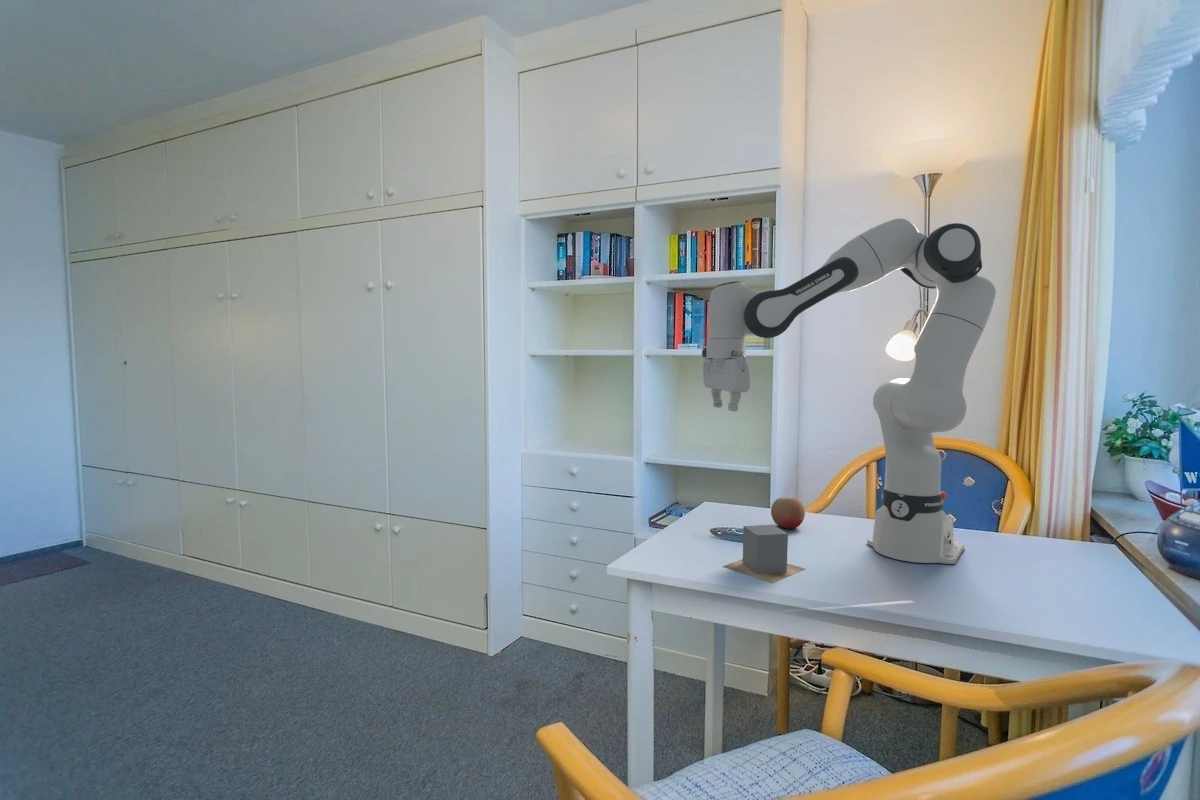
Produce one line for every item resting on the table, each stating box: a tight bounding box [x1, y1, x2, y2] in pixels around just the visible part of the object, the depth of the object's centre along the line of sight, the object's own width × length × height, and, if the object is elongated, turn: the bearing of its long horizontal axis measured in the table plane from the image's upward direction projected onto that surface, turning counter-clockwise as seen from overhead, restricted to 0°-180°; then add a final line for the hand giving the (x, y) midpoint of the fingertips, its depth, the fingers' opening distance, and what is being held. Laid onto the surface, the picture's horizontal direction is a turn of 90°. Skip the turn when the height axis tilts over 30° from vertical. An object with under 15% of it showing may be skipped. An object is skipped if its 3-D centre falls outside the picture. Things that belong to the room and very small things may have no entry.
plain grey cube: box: [742, 524, 789, 574], centre depth 128 cm, size 7×7×8 cm
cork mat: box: [722, 558, 806, 584], centre depth 129 cm, size 12×12×1 cm
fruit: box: [770, 497, 806, 530], centre depth 159 cm, size 8×8×8 cm
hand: (725, 409), depth 149 cm, fingers open, 8 cm apart
